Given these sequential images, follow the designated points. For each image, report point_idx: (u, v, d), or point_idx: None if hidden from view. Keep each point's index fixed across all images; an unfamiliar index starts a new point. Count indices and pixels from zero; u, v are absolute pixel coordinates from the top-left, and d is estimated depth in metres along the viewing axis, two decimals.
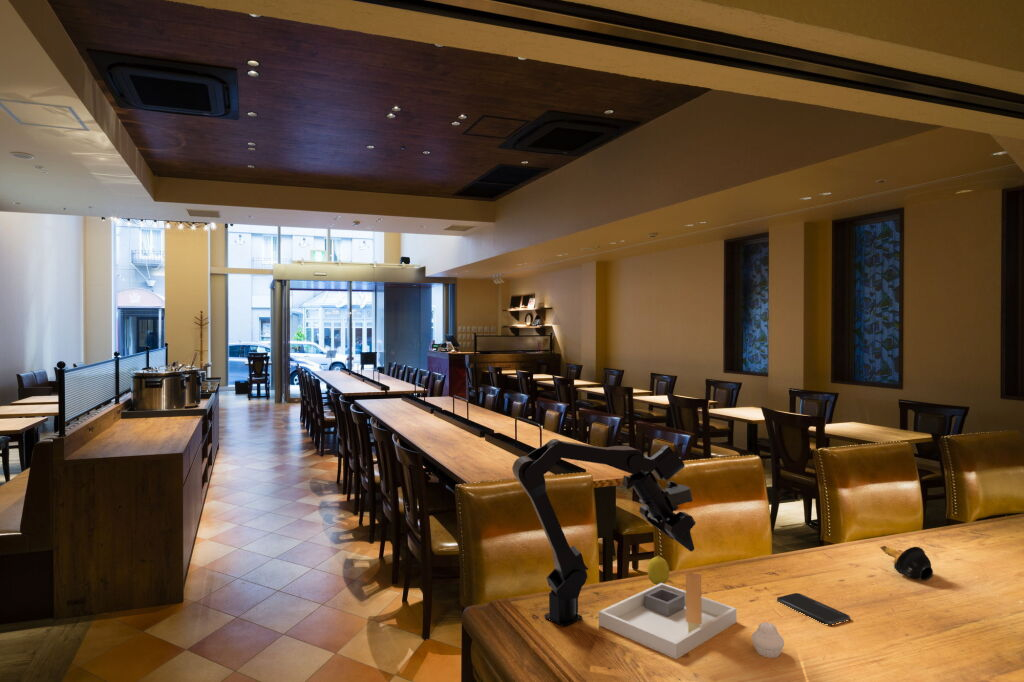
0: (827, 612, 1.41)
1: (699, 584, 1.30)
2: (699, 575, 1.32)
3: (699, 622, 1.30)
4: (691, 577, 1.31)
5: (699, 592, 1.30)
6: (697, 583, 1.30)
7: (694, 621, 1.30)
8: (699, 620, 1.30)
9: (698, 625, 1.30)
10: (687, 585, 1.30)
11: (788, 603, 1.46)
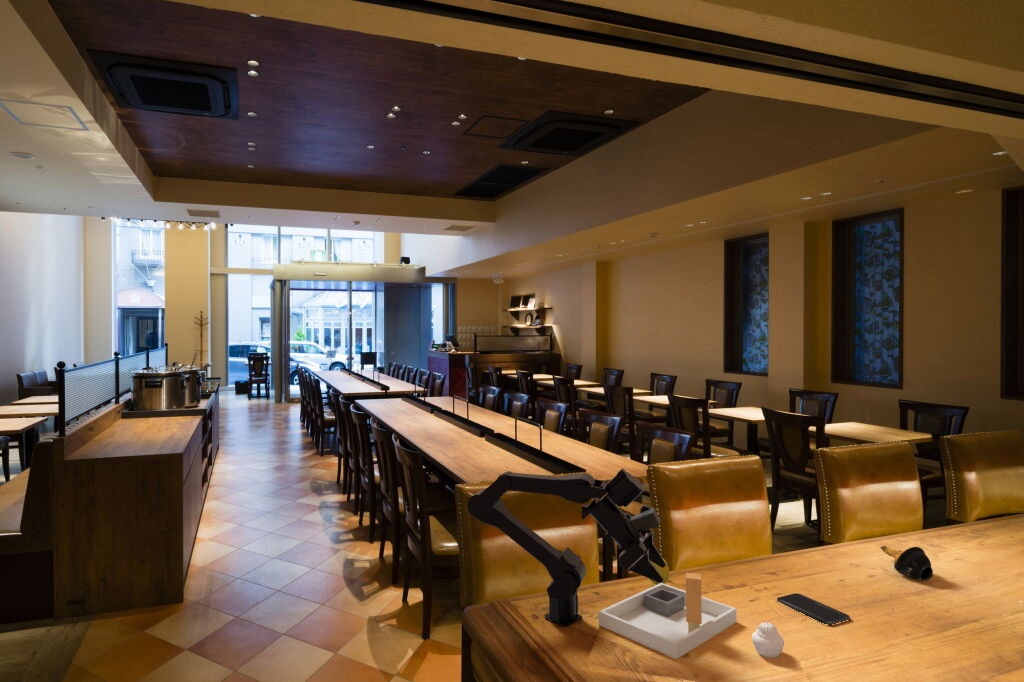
0: (827, 612, 1.41)
1: (699, 584, 1.30)
2: (699, 575, 1.32)
3: (699, 622, 1.30)
4: (691, 577, 1.31)
5: (699, 592, 1.30)
6: (697, 583, 1.30)
7: (694, 621, 1.30)
8: (699, 620, 1.30)
9: (698, 625, 1.30)
10: (687, 585, 1.30)
11: (788, 603, 1.46)
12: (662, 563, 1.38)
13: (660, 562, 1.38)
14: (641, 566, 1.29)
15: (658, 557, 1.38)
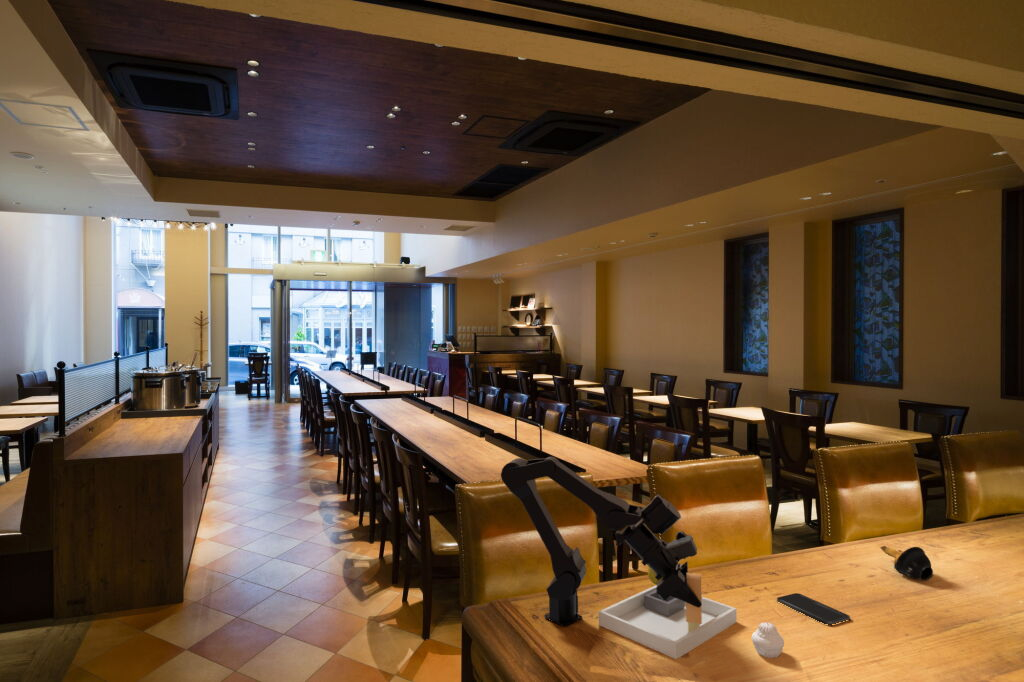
0: (827, 612, 1.41)
1: (699, 584, 1.30)
2: (699, 575, 1.32)
3: (699, 622, 1.30)
4: (691, 577, 1.31)
5: (699, 592, 1.30)
6: (697, 583, 1.30)
7: (694, 621, 1.30)
8: (699, 620, 1.30)
9: (698, 625, 1.30)
10: None
11: (788, 603, 1.46)
12: None
13: None
14: (679, 590, 1.29)
15: None
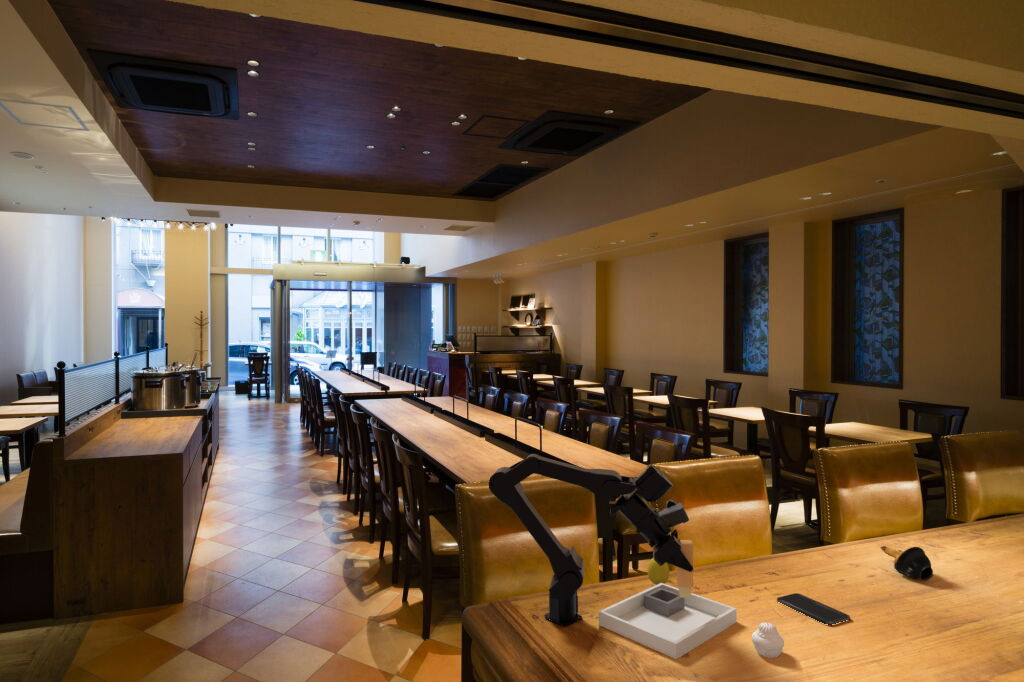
0: (827, 612, 1.41)
1: (691, 549, 1.34)
2: (690, 541, 1.36)
3: (691, 586, 1.34)
4: (683, 543, 1.35)
5: (691, 557, 1.34)
6: (690, 548, 1.34)
7: (686, 585, 1.34)
8: (691, 584, 1.34)
9: (689, 589, 1.34)
10: None
11: (788, 603, 1.46)
12: None
13: None
14: (673, 556, 1.33)
15: None
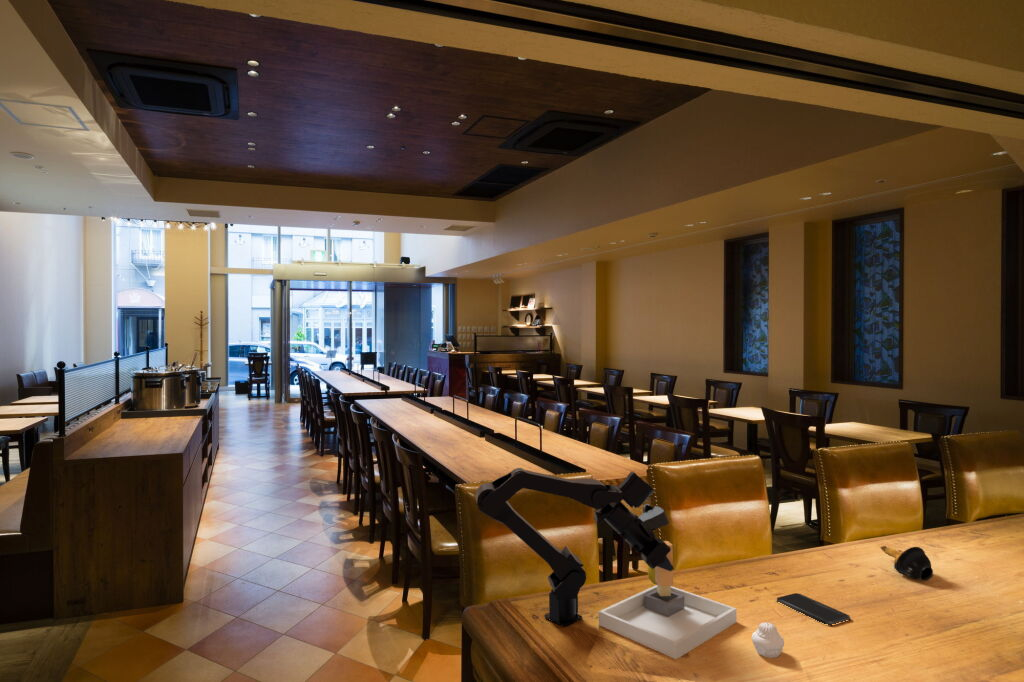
0: (827, 612, 1.41)
1: (671, 549, 1.42)
2: (667, 542, 1.44)
3: (671, 584, 1.42)
4: None
5: (671, 557, 1.42)
6: None
7: (667, 584, 1.41)
8: (671, 582, 1.42)
9: (669, 587, 1.42)
10: None
11: (788, 603, 1.46)
12: None
13: None
14: None
15: None
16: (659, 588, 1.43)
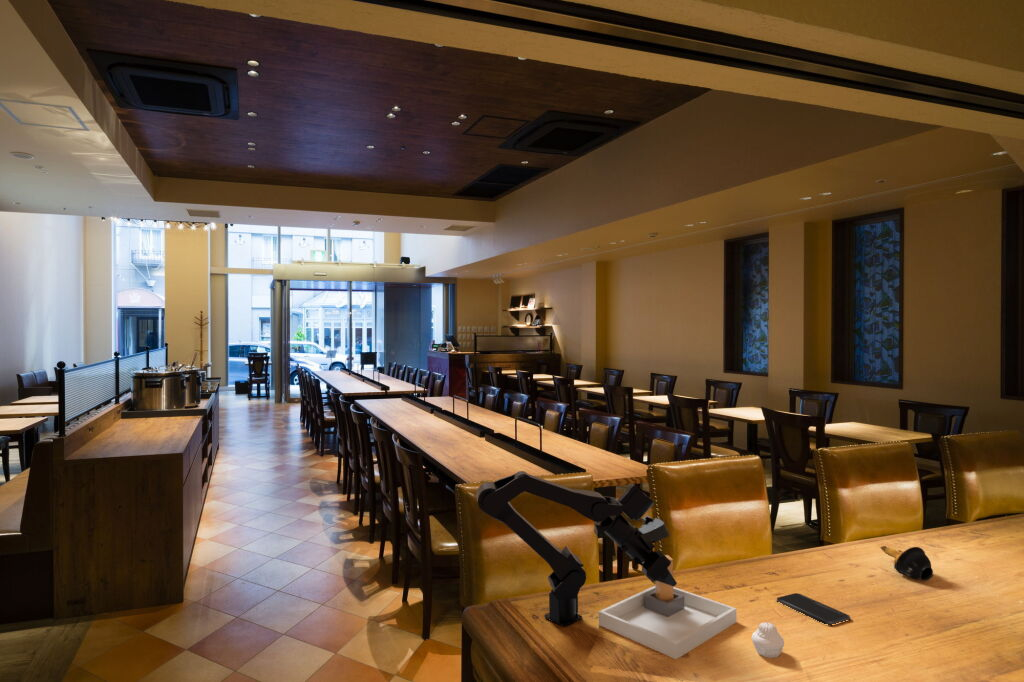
0: (827, 612, 1.41)
1: (671, 564, 1.42)
2: (667, 556, 1.44)
3: (671, 599, 1.42)
4: None
5: (671, 571, 1.42)
6: None
7: (667, 599, 1.41)
8: (671, 597, 1.42)
9: None
10: None
11: (788, 603, 1.46)
12: None
13: None
14: None
15: None
16: None
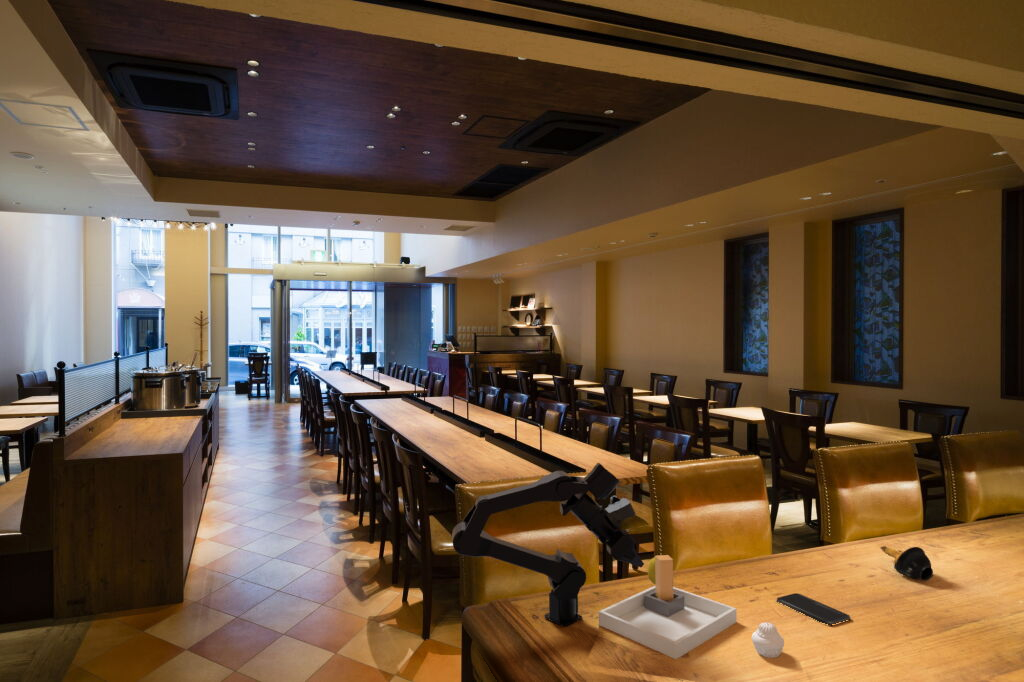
0: (827, 612, 1.41)
1: (671, 564, 1.42)
2: (667, 556, 1.44)
3: (671, 599, 1.42)
4: (663, 559, 1.42)
5: (671, 571, 1.42)
6: (670, 563, 1.42)
7: (667, 599, 1.41)
8: (671, 597, 1.42)
9: None
10: (661, 566, 1.41)
11: (788, 603, 1.46)
12: None
13: None
14: (626, 554, 1.36)
15: None
16: None
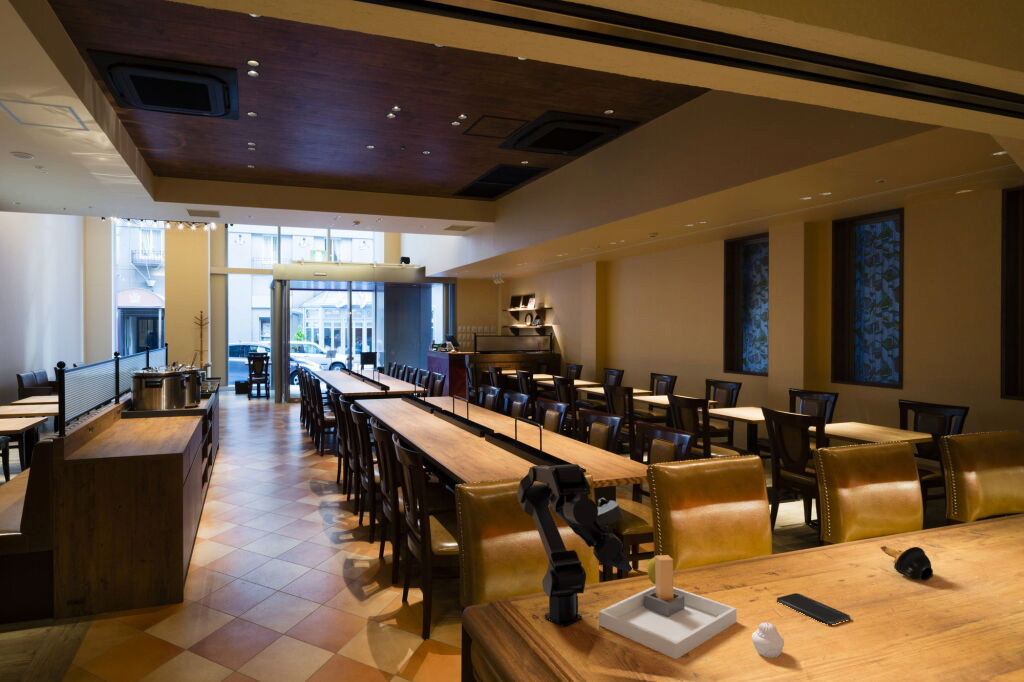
0: (827, 612, 1.41)
1: (671, 564, 1.42)
2: (667, 556, 1.44)
3: (671, 599, 1.42)
4: (663, 559, 1.42)
5: (671, 571, 1.42)
6: (670, 563, 1.42)
7: (667, 599, 1.41)
8: (671, 597, 1.42)
9: None
10: (661, 566, 1.41)
11: (788, 603, 1.46)
12: None
13: None
14: (613, 558, 1.32)
15: None
16: None
